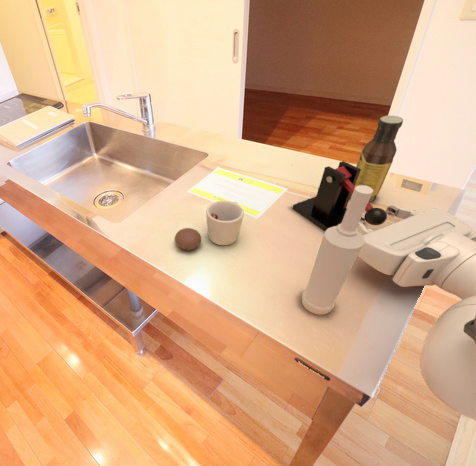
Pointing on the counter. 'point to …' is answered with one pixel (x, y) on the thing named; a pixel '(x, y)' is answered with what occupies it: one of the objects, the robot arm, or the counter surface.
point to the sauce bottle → (378, 155)
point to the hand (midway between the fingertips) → (371, 214)
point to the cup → (224, 221)
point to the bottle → (336, 256)
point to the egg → (188, 238)
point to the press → (329, 198)
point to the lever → (372, 214)
